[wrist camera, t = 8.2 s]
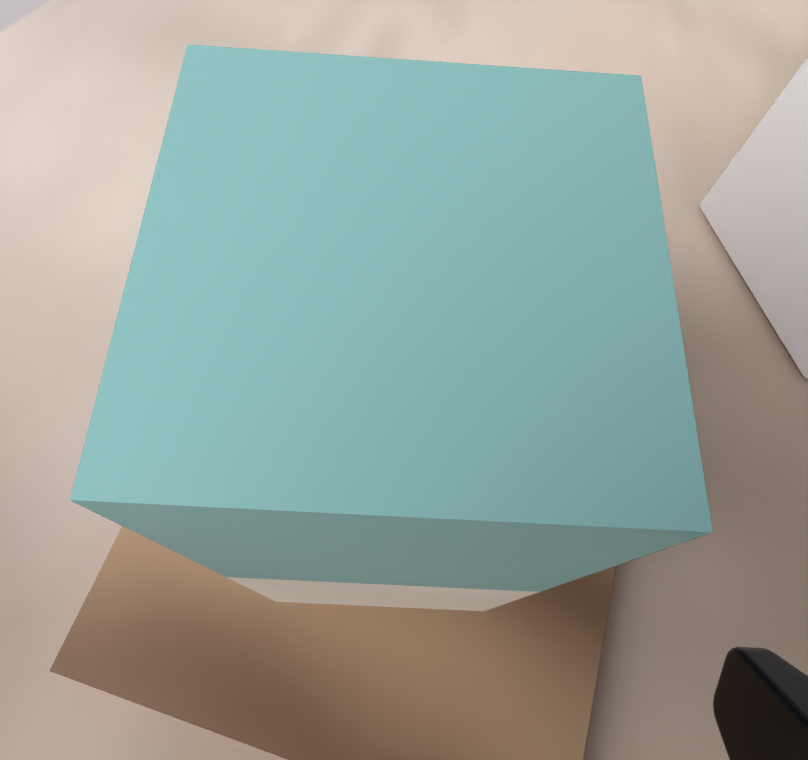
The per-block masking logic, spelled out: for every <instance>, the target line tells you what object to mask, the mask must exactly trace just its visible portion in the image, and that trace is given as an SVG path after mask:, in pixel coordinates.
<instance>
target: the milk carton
mask: <svg viewBox="0 0 808 760" xmlns="http://www.w3.org/2000/svg"><path fill="white" fill-rule="evenodd" d="M700 208H701V210H702V212H703V213H704V215H705V217H706V218H707V220H708V222H709V223H710V225H711V226H712V228H713V230H714V231H715V233H716V235H717V236H718V238H719V240H720V241H721V243H722V245H723V246H724V248H725V249H726V251H727V253H728V254H729V256H730V258H731V259H732V261H733V263H734V264H735V266H736V267H737V269H738V271H739V272H740V274H741V276H742V277H743V279H744V280H745V282H746V284H747V285H748V287H749V289H750V290H751V292H752V294H753V295H754V297H755V298H756V300H757V302H758V303H759V305H760V307H761V308H762V310H763V311H764V313H765V315H766V316H767V318H768V320H769V321H770V323H771V325H772V326H773V328H774V329H775V331H776V333H777V334H778V336H779V338H780V339H781V341H782V342H783V344H784V346H785V347H786V349H787V350H788V352H789V354H790V355H791V357H792V359H793V360H794V362H795V363H796V365H797V367H798V368H799V370H800V371H801V373H802V375H803V376H804V377H805V378H807V379H808V57H807V58H806V60H805V61H804V63H803V64H802V65H801V67H800V68H799V69H798V71H797V72H796V73H795V75H794V76H793V78H792V79H791V80H790V82H789V83H788V84H787V86H786V87H785V88H784V90H783V91H782V93H781V94H780V95H779V97H778V98H777V99H776V101H775V102H774V103H773V105H772V106H771V108H770V109H769V110H768V112H767V113H766V114H765V116H764V117H763V118H762V120H761V121H760V123H759V124H758V125H757V127H756V128H755V129H754V131H753V132H752V133H751V135H750V136H749V138H748V139H747V140H746V142H745V143H744V144H743V146H742V147H741V148H740V150H739V151H738V153H737V154H736V155H735V157H734V158H733V159H732V161H731V162H730V163H729V165H728V166H727V168H726V169H725V170H724V172H723V173H722V174H721V176H720V177H719V178H718V180H717V181H716V183H715V184H714V185H713V187H712V188H711V189H710V191H709V192H708V193H707V195H706V196H705V198H704V199H703V200H702V202H701V203H700Z"/></svg>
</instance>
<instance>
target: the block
mask: <svg viewBox="0 0 808 760" xmlns="http://www.w3.org/2000/svg"><path fill="white" fill-rule="evenodd" d="M70 500H71V501H73V502H75V503H77V504H79V505H81V506H83V507H85V508H87V509H89V510H91V511H93V512H95V513H97V514H99V515H101V516H103V517H105V518H107V519H109V520H111V521H113V522H115V523H117V524H119V525H121V526H123V527H125V528H127V529H129V530H132V531H134V532H136V533H138V534H140V535H142V536H144V537H146V538H148V539H150V540H152V541H154V542H156V543H158V544H160V545H162V546H164V547H166V548H168V549H170V550H172V551H174V552H176V553H178V554H180V555H182V556H184V557H186V558H188V559H190V560H192V561H194V562H196V563H198V564H201V565H203V566H205V567H207V568H209V569H211V570H213V571H215V572H217V573H219V574H221V575H223V576H225V577H227V578H229V579H231V580H233V581H235V582H237V583H239V584H241V585H243V586H245V587H247V588H249V589H251V590H253V591H255V592H257V593H259V594H261V595H263V596H265V597H267V598H270V599H272V600H274V601H276V602H293V603H315V604H336V605H358V606H380V607H401V608H423V609H444V610H466V611H486V610H489V609H492V608H495V607H498V606H501V605H504V604H506V603H509V602H512V601H515V600H518V599H521V598H524V597H527V596H530V595H532V594H535V593H538V592H541V591H544V590H547V589H550V588H553V587H556V586H559V585H561V584H564V583H567V582H570V581H573V580H576V579H579V578H582V577H585V576H587V575H590V574H593V573H596V572H599V571H602V570H605V569H608V568H611V567H614V566H616V565H619V564H622V563H625V562H628V561H631V560H634V559H637V558H640V557H642V556H645V555H648V554H651V553H654V552H657V551H660V550H663V549H666V548H669V547H671V546H674V545H677V544H680V543H683V542H686V541H689V540H692V539H695V538H698V537H700V536H703V535H706V534H709V533H712V532H713V530H712V524H711V518H710V511H709V505H708V498H707V492H706V486H705V479H704V473H703V467H702V460H701V454H700V448H699V441H698V435H697V428H696V422H695V416H694V409H693V403H692V397H691V390H690V384H689V378H688V371H687V365H686V359H685V352H684V346H683V339H682V333H681V327H680V320H679V314H678V308H677V301H676V295H675V289H674V282H673V276H672V269H671V263H670V257H669V250H668V244H667V238H666V231H665V225H664V219H663V212H662V206H661V199H660V193H659V187H658V180H657V174H656V168H655V161H654V155H653V149H652V142H651V136H650V130H649V123H648V117H647V110H646V104H645V98H644V91H643V85H642V79H641V76H637V75H622V74H608V73H593V72H579V71H564V70H550V69H535V68H521V67H506V66H492V65H477V64H463V63H448V62H434V61H419V60H405V59H390V58H376V57H361V56H347V55H332V54H318V53H303V52H289V51H274V50H260V49H245V48H231V47H216V46H202V45H187V49H186V53H185V57H184V61H183V65H182V69H181V72H180V76H179V80H178V84H177V88H176V92H175V96H174V99H173V103H172V107H171V111H170V115H169V119H168V123H167V126H166V130H165V134H164V138H163V142H162V146H161V150H160V153H159V157H158V161H157V165H156V169H155V173H154V177H153V180H152V184H151V188H150V192H149V196H148V200H147V204H146V208H145V211H144V215H143V219H142V223H141V227H140V231H139V235H138V238H137V242H136V246H135V250H134V254H133V258H132V262H131V265H130V269H129V273H128V277H127V281H126V285H125V289H124V292H123V296H122V300H121V304H120V308H119V312H118V316H117V319H116V323H115V327H114V331H113V335H112V339H111V343H110V346H109V350H108V354H107V358H106V362H105V366H104V370H103V374H102V377H101V381H100V385H99V389H98V393H97V397H96V401H95V404H94V408H93V412H92V416H91V420H90V424H89V428H88V431H87V435H86V439H85V443H84V447H83V451H82V455H81V458H80V462H79V466H78V470H77V474H76V478H75V482H74V485H73V489H72V493H71V497H70Z"/></svg>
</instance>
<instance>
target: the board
mask: <svg viewBox="0 0 808 760" xmlns="http://www.w3.org/2000/svg"><path fill="white" fill-rule="evenodd" d="M615 570H616V566H614V567H611V568H608V569H605V570H602V571H599V572H596V573H593V574H590V575H587V576H585V577H582V578H579V579H576V580H573V581H570V582H567V583H564V584H561V585H559V586H556V587H553V588H550V589H547V590H544V591H541V592H538V593H535V594H532V595H530V596H527V597H524V598H521V599H518V600H515V601H512V602H509V603H506V604H504V605H501V606H498V607H495V608H492V609H489V610H486V611H466V610H444V609H423V608H401V607H380V606H358V605H336V604H315V603H293V602H276V601H274V600H272V599H270V598H267V597H265V596H263V595H261V594H259V593H257V592H255V591H253V590H251V589H249V588H247V587H245V586H243V585H241V584H239V583H237V582H235V581H233V580H231V579H229V578H227V577H225V576H223V575H221V574H219V573H217V572H215V571H213V570H211V569H209V568H207V567H205V566H203V565H201V564H198V563H196V562H194V561H192V560H190V559H188V558H186V557H184V556H182V555H180V554H178V553H176V552H174V551H172V550H170V549H168V548H166V547H164V546H162V545H160V544H158V543H156V542H154V541H152V540H150V539H148V538H146V537H144V536H142V535H140V534H138V533H136V532H134V531H132V530H129V529H127V528H125V527H123V526H122V528H121V530H120V532H119V534H118V536H117V538H116V540H115V542H114V544H113V546H112V548H111V550H110V552H109V554H108V556H107V558H106V560H105V562H104V564H103V566H102V568H101V570H100V572H99V574H98V576H97V578H96V580H95V582H94V584H93V586H92V588H91V590H90V592H89V594H88V596H87V598H86V600H85V602H84V604H83V606H82V608H81V610H80V612H79V614H78V616H77V617H76V619H75V621H74V623H73V625H72V627H71V629H70V631H69V633H68V635H67V637H66V639H65V641H64V643H63V645H62V647H61V649H60V651H59V653H58V655H57V657H56V659H55V661H54V663H53V665H52V667H51V669H50V671H51V672H54V673H57V674H59V675H62V676H65V677H67V678H70V679H73V680H75V681H78V682H81V683H83V684H86V685H89V686H92V687H94V688H97V689H100V690H102V691H105V692H108V693H110V694H113V695H116V696H118V697H121V698H124V699H127V700H129V701H132V702H135V703H137V704H140V705H143V706H145V707H148V708H151V709H153V710H156V711H159V712H162V713H164V714H167V715H170V716H172V717H175V718H178V719H180V720H183V721H186V722H188V723H191V724H194V725H197V726H199V727H202V728H205V729H207V730H210V731H213V732H215V733H218V734H221V735H223V736H226V737H229V738H232V739H234V740H237V741H240V742H242V743H245V744H248V745H250V746H253V747H256V748H258V749H261V750H264V751H267V752H269V753H272V754H275V755H277V756H280V757H283V758H285V759H288V760H583V755H584V750H585V744H586V738H587V732H588V726H589V721H590V715H591V709H592V703H593V698H594V692H595V686H596V680H597V674H598V669H599V663H600V657H601V651H602V645H603V640H604V634H605V628H606V622H607V616H608V611H609V605H610V599H611V593H612V588H613V582H614V576H615Z"/></svg>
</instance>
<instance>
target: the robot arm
mask: <svg viewBox="0 0 808 760" xmlns="http://www.w3.org/2000/svg"><path fill="white" fill-rule="evenodd" d="M713 707H714V714H715V719H716V722H717V725H718V728H719V730H720V733H721V736H722V739H723V742H724V745H725V747H726V750H727V753H728V756H729V759H730V760H808V676H807V675H805V674H804V673H802V672H801V671H799V670H798V669H797V668H795V667H794V666H792V665H791V664H789V663H788V662H786V661H785V660H783V659H782V658H780V657H779V656H778V655H776V654H775V653H773V652H771V651H770V650H767V649H764V648H748V647H736V648H732V649H731V650H730V651H729V652H728V654H727V656H726V659H725V662H724V665H723V669H722V672H721V675H720V678H719V682H718V685H717V688H716V691H715V695H714V702H713Z"/></svg>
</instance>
